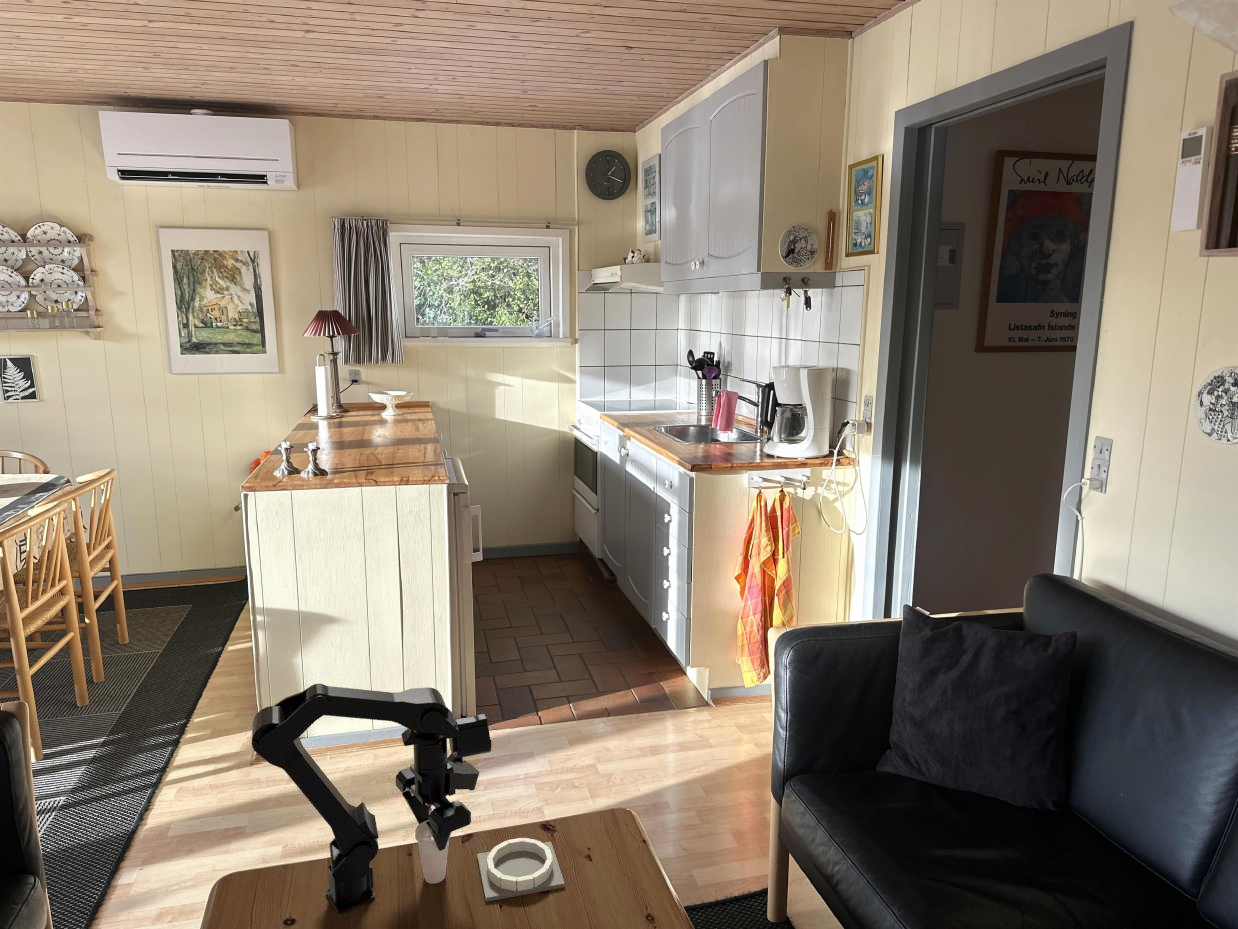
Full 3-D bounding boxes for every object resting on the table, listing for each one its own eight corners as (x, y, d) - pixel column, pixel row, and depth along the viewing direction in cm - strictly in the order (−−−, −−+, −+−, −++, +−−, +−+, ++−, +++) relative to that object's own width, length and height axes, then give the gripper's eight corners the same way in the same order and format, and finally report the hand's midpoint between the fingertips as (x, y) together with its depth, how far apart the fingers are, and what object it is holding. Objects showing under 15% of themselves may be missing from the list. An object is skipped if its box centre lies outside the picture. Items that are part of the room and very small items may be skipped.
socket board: (485, 901, 149) (485, 887, 148) (477, 857, 160) (477, 844, 160) (564, 887, 153) (564, 873, 152) (551, 845, 164) (551, 832, 163)
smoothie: (409, 881, 154) (406, 811, 151) (432, 860, 159) (430, 793, 156) (437, 893, 151) (434, 822, 148) (460, 871, 156) (458, 803, 153)
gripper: (497, 770, 148) (499, 850, 151) (449, 725, 162) (451, 799, 165) (437, 792, 141) (440, 875, 144) (392, 743, 155) (396, 819, 159)
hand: (433, 839), depth 153 cm, fingers closed on smoothie, 6 cm apart
